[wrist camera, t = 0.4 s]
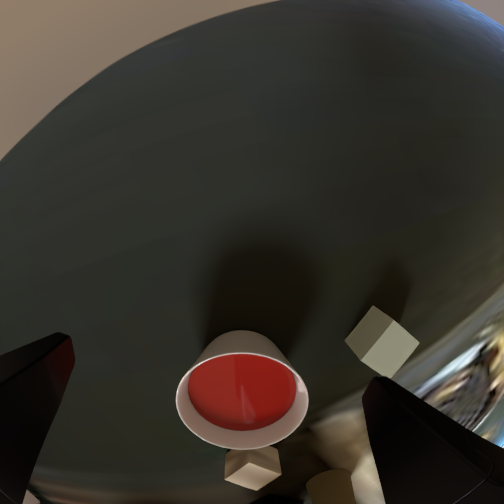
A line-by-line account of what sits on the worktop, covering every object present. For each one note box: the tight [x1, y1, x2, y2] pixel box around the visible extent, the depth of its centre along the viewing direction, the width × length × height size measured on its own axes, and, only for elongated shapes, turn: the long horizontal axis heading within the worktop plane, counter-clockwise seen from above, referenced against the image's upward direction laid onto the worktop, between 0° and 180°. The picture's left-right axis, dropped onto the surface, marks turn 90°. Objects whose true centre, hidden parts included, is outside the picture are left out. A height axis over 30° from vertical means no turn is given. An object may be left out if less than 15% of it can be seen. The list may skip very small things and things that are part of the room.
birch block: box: [225, 446, 282, 491], centre depth 22 cm, size 4×4×4 cm
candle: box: [176, 330, 308, 450], centre depth 20 cm, size 9×9×6 cm
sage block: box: [344, 306, 419, 378], centre depth 21 cm, size 4×4×4 cm
